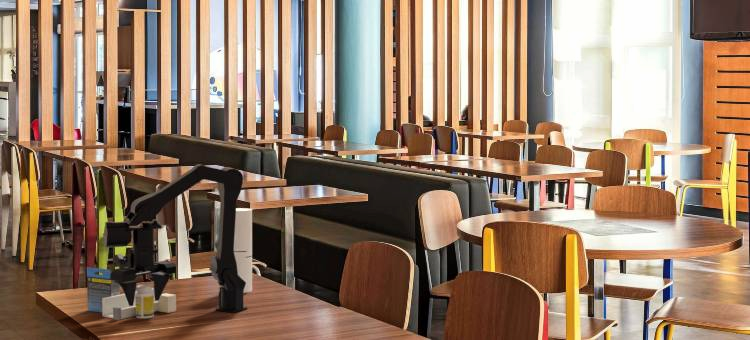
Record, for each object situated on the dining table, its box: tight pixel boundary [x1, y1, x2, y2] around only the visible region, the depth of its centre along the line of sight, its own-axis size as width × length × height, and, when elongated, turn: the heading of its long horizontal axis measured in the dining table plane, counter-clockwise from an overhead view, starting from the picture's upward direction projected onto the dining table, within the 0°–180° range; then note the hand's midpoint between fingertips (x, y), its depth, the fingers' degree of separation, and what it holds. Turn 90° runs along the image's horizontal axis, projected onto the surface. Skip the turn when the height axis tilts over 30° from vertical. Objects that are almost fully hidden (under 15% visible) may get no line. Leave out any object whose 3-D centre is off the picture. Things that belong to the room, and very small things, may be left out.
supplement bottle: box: [135, 284, 155, 319], centre depth 284 cm, size 5×5×8 cm
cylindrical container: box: [234, 207, 253, 294], centre depth 322 cm, size 7×7×25 cm
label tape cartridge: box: [86, 266, 121, 313], centre depth 291 cm, size 9×4×12 cm, turn 62°
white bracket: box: [101, 287, 177, 321], centre depth 289 cm, size 10×19×5 cm, turn 145°
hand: (144, 303), depth 284 cm, fingers open, 9 cm apart
